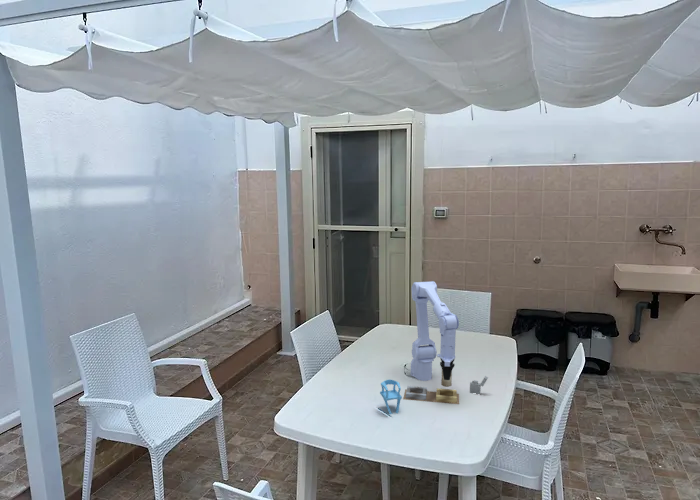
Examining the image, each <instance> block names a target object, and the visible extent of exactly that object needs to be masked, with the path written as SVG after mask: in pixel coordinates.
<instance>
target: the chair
mask: <svg viewBox="0 0 700 500" xmlns="http://www.w3.org/2000/svg"><path fill="white" fill-rule="evenodd" d="M387 385H392V389H391V390H389V389H388V386H387ZM380 386H381V391H379V394H380V396H381V397H382V398H383V402H384V404H385V406H386V409H387V412H388V413H387V412H386V411H383V410H382V409H381V408H380V407H377V409H378V410H379V411H380V412H382V413H383V414H386V415H387V416H389V417H390V418H392V417H393V416H392V414H393V413H392V411H391V408H390V406H389V403H388V401H392V400H397V401H396V409H395V414H399V410H400V405H401V404H400V403H401V400H403V397H402V395H401V394H400V393H401V389H402V388H401V385H400V382H399V381H396V380H393V379H386V380H383V381H382V382H381V383H380ZM396 386H397V388H398V391H397V390H396Z"/></svg>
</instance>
